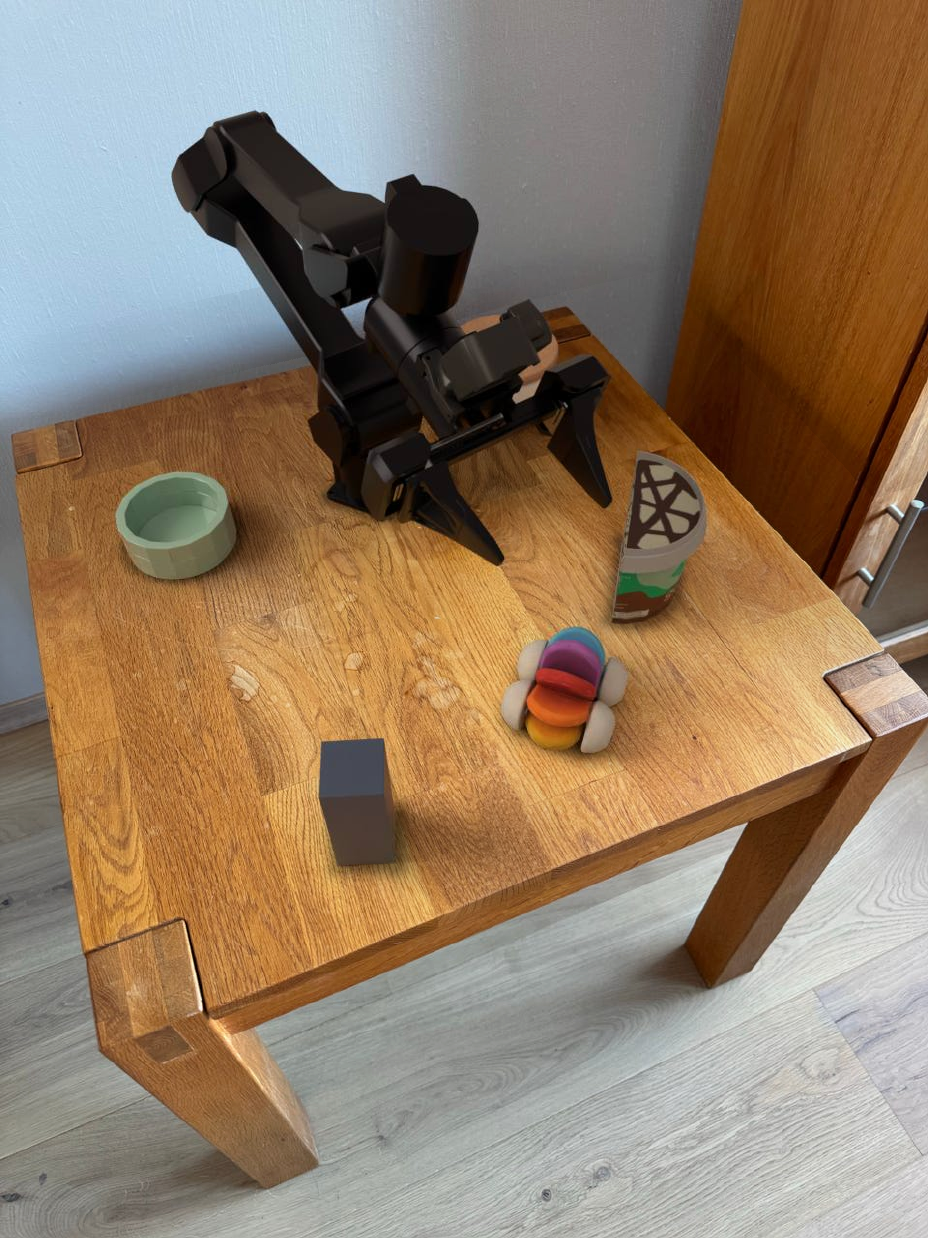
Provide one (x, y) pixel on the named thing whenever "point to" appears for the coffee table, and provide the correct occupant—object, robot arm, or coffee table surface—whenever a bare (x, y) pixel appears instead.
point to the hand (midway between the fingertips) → (556, 533)
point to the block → (357, 801)
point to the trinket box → (531, 373)
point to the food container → (657, 537)
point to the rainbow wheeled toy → (566, 691)
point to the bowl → (176, 525)
